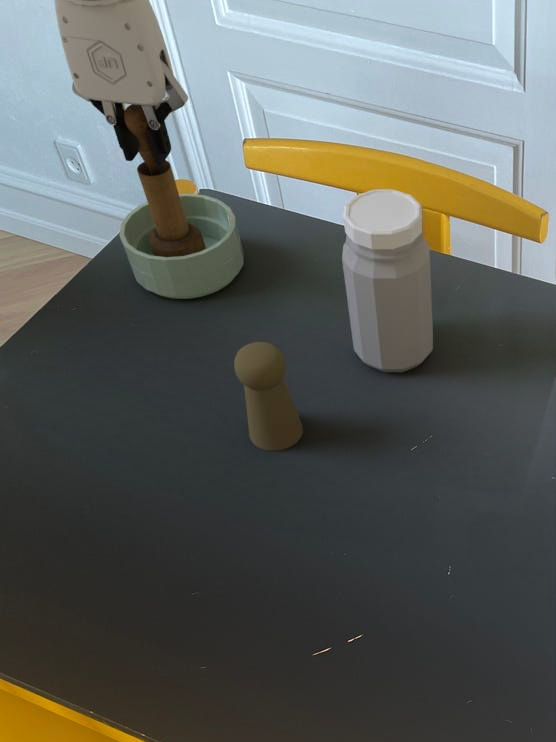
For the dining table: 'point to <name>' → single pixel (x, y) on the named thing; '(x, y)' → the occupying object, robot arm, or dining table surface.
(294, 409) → the board game pawn
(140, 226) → the bowl
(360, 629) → the dining table surface
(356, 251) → the jar
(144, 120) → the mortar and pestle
